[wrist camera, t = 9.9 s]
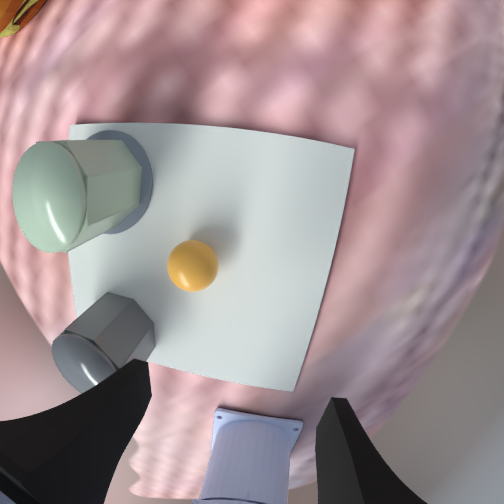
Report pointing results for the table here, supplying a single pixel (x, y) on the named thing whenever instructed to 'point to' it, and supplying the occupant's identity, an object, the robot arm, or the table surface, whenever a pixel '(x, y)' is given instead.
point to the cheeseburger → (17, 14)
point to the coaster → (145, 178)
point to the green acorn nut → (74, 191)
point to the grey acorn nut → (103, 341)
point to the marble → (192, 265)
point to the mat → (225, 247)
